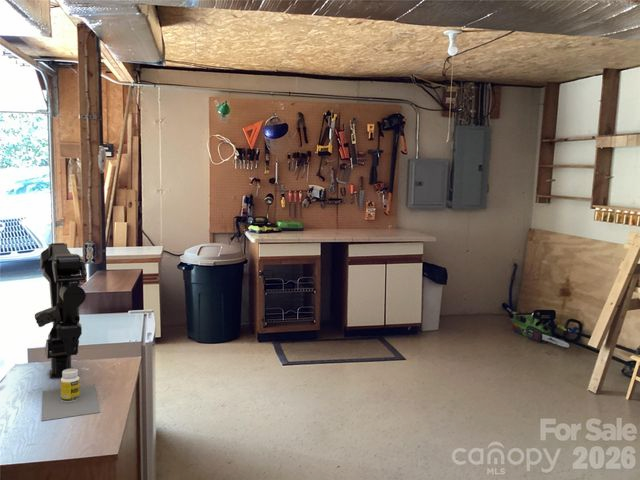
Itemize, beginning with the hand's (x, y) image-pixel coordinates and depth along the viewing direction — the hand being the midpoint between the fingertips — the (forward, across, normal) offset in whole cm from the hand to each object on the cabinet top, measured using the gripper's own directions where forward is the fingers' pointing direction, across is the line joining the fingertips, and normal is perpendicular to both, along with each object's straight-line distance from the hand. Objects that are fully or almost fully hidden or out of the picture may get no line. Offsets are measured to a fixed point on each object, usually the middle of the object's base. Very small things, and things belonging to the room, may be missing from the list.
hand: (68, 350), depth 152 cm
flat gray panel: (+12, +9, 0) cm, 15 cm away
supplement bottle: (+12, +8, 0) cm, 14 cm away
